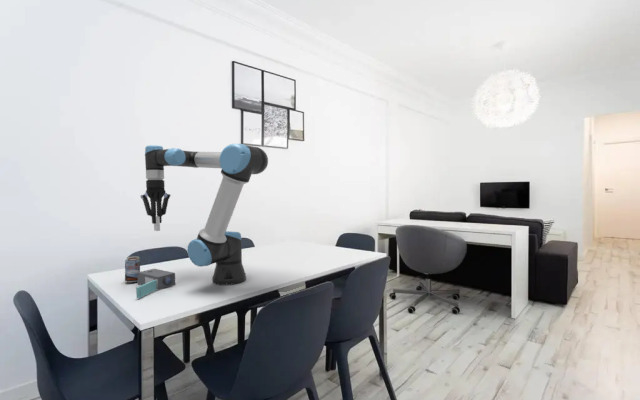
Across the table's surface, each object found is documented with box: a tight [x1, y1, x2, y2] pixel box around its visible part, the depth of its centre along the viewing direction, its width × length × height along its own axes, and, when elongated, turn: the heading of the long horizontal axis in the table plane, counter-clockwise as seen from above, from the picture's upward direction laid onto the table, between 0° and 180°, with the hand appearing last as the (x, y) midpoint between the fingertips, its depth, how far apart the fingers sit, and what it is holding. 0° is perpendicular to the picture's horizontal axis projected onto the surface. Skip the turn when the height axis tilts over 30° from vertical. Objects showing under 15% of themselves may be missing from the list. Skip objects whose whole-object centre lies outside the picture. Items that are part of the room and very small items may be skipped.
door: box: [135, 279, 158, 299], centre depth 135 cm, size 12×2×4 cm, turn 171°
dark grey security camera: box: [137, 268, 176, 291], centre depth 149 cm, size 17×8×6 cm, turn 58°
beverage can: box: [124, 256, 141, 283], centre depth 154 cm, size 6×7×12 cm
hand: (157, 230), depth 153 cm, fingers closed
